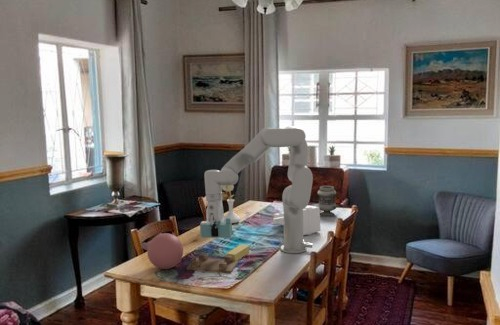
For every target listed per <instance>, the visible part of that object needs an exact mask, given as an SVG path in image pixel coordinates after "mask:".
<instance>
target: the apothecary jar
mask: <svg viewBox="0 0 500 325" xmlns="http://www.w3.org/2000/svg"><path fill="white" fill-rule="evenodd" d="M317 195H318V197H319V200H318V203H317V205H316V207H319V208H320V217H325V218H327V217H330V218H331V217H334V216H335V214H336V213H334V212H332V211H335V210H336V209H337V207H338V205H337V204H336V201H335V199H336V198H335V197H336V196H337V191H336V190H335V187H334V186H333V185H322V186H319V189H318V191H317ZM321 211H322V212H321Z"/></svg>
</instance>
